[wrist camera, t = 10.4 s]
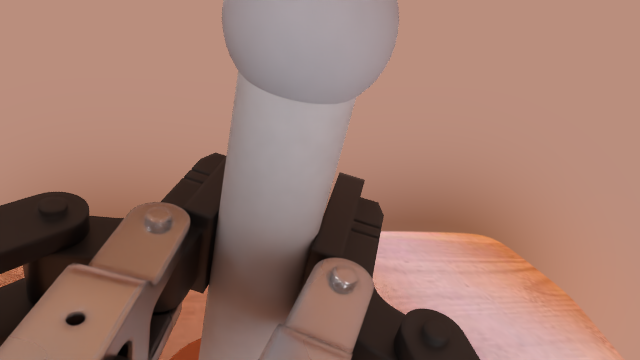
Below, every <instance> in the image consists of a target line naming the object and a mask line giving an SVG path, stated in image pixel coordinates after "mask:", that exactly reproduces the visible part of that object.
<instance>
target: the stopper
mask: <svg viewBox="0 0 640 360" xmlns="http://www.w3.org/2000/svg"><path fill="white" fill-rule="evenodd" d="M398 14H399V13H398V3H397V0H224V2H223V8H222V24H223V32H224V37H225V41H226V45H227V48H228V51H229V54H230V56H231V58H232V60H233V62H234V64H235V66H236V67H237V69H238V78H237V86H236V92H235V100H234V107H233V114H232V121H231V128H230V136H229V143H228V150H227V157H226V164H225V171H224V179H223V186H222V193H221V200H220V208H219V215H218V222H217V230H216V237H215V244H214V251H213V259H212V266H211V273H210V280H209V287H208V294H207V302H206V309H205V316H204V323H203V330H202V338H201V339H198V340H196V341H194V342H192V343H190V344H188V345H187V346H185V347H184V348H182V349H181V350H179V351H178V352H177V353H176V354H175V355H174V356H173V357H172V358H171V359H170V360H258V359H259V357H260V355H261V353H262V351H263V350H264V348H265V346H266V344H267V342H268V341H269V339H270V337H271V335H272V333H273V331H274V330H275V328H276V327H277V325H278V324H279V323H281V324H284V322H285V321H286V319H287V317H288V315H289V313H290V311H291V309H292V307H293V306H294V304H295V302H296V300H297V298H298V295H299V291H300V287H301V284H302V280H303V276H304V273H305V269H306V265H307V262H308V258H309V254H310V251H311V247H312V245H313V242H314V239H315V237H316V235H317V234H318V232H319V229H320V226H321V222H322V219H323V215H324V211H325V208H326V204H327V200H328V197H329V193H330V190H331V186H332V183H333V179H334V175H335V172H336V168H337V164H338V161H339V157H340V154H341V150H342V146H343V143H344V139H345V135H346V132H347V128H348V125H349V121H350V117H351V114H352V110H353V107H354V103H355V99H356V97H357V96H359V95H360V94H361V93H362V92H363V91H365V90H366V89H367V88H369V87H370V86H371V85H372V84H373V83H374V81H375V80H376V79H377V78H378V77H379V75H380V74H381V73H382V71H383V70H384V68H385V66H386V64H387V63H388V61H389V59H390V57H391V54H392V52H393V49H394V47H395V42H396V38H397V34H398V24H399V15H398Z"/></svg>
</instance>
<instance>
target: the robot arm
mask: <svg viewBox="0 0 640 360" xmlns="http://www.w3.org/2000/svg"><path fill="white" fill-rule="evenodd" d="M226 157H227V156H225V155H221V154H218V153H214V154H211V155H209V156H206V157H204V158H202V159H200V160H199V161H198V162H197V163H196V164H195V165H194V167H193V168H192V170H190V171H189V172H188V173H187V174H186V175H185V176H184V178H182V179H181V180H180V182H179V183H178V184H177V185H176V186H175V187H174V188H173V189H172V190H171V191H170V192H169V193H168V194H167V195H166V197H165V198H164V199H163V200H162V201H161V202H152V203H146V204H142V205H139V206H137V207H135V208H134V209H132V210H131V211H130V212H129V213H128V214H127V216H126V217H125V218H109V217H97V216H89V206H88V204H87V203H86V201H85V200H84V199H82V198H81V197H79V196H77V195H74V194H71V193H66V192H48V193H42V194H38V195H35V196H31V197H28V198H24V199H21V200H18V201H15V202H11V203H8V204H4V205H1V206H0V274H2V273H4V272H7V271H9V270H12V269H14V268H17V267H20V266H22V265H23V269H24V276H25V278H23V279H20V280H18V281H15V282H13V283H10V284H8V285H6V286H3V287H1V288H0V360H158V359H159V357H160V355H161V353H162V350H163V348H164V346H165V344H166V342H167V340H168V338H169V336H170V334H171V331H172V329H173V327H174V325H175V323H176V321H177V319H178V317H179V315H180V312H181V309H182V301H183V300H184V298H185V296H186V295H187V293H188V292H189V290H190V289H191V290H194V291H197V292H200V293H204V291H205V289H206V288H207V286H208V284H209V280H210V273H211V266H212V259H213V251H214V244H215V237H216V230H217V222H218V215H219V208H220V200H221V193H222V186H223V179H224V171H225V164H226ZM364 181H365V180H363V179H360V178H356V177H353V176H350V175H347V174H344V173H339V176H338V178H337V181H336V184H335V186H334V189H333V192H332V194H331V197H330V200H329V202H328V205H327V208H326V210H325V213H324V216H323V219H322V222H321V226H320V229H319V232H318V234H317V235H316V237H315V239H314V242H313V245H312V247H311V251H310V254H309V258H308V262H307V265H306V269H305V273H304V276H303V280H302V284H301V287H300V291H299V295H298V298H297V300H296V302H295V304H294V306H293V307H292V309H291V311H290V313H289V315H288V317H287V319H286V321H285V322H284V324H281V323H279V324H278V325H277V327H276V328H275V330H274V331H273V333H272V335H271V337H270V339H269V341H268V342H267V344H266V346H265V348H264V350H263V351H262V353H261V355H260V357H259V359H258V360H480V359H479V357H478V355H477V354H476V352H475V350H474V349H473V347H472V346H471V344H470V342H469V341H468V339H467V337H466V336H465V334H464V332H463V331H462V330H461V328H460V327H459V326H458V325H457V324H456V323H455V322H454V321H453V320H452V319H450V318H449V317H447V316H446V315H444V314H442V313H439V312H437V311H434V310H430V309H415V310H412V311H410V312H408V313H407V314H406V315H405V314H403V313H402V312H400V311H398V310H397V309H395V308H393V307H392V306H390V305H389V304H388V303H386V302H385V301H384V300H383V299H382V298H381V297H380V295H379V294H378V293H377V291H376V289H375V287H374V283H373V280H372V278H373V271H374V265H375V260H376V254H377V249H378V243H379V238H380V232H381V227H382V222H383V216H384V215H383V213H382V210H381V208H380V206H379V204H378V202H374V201H371V200H368V199H364V198H361V197H360V196H361V192H362V188H363V184H364Z"/></svg>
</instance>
